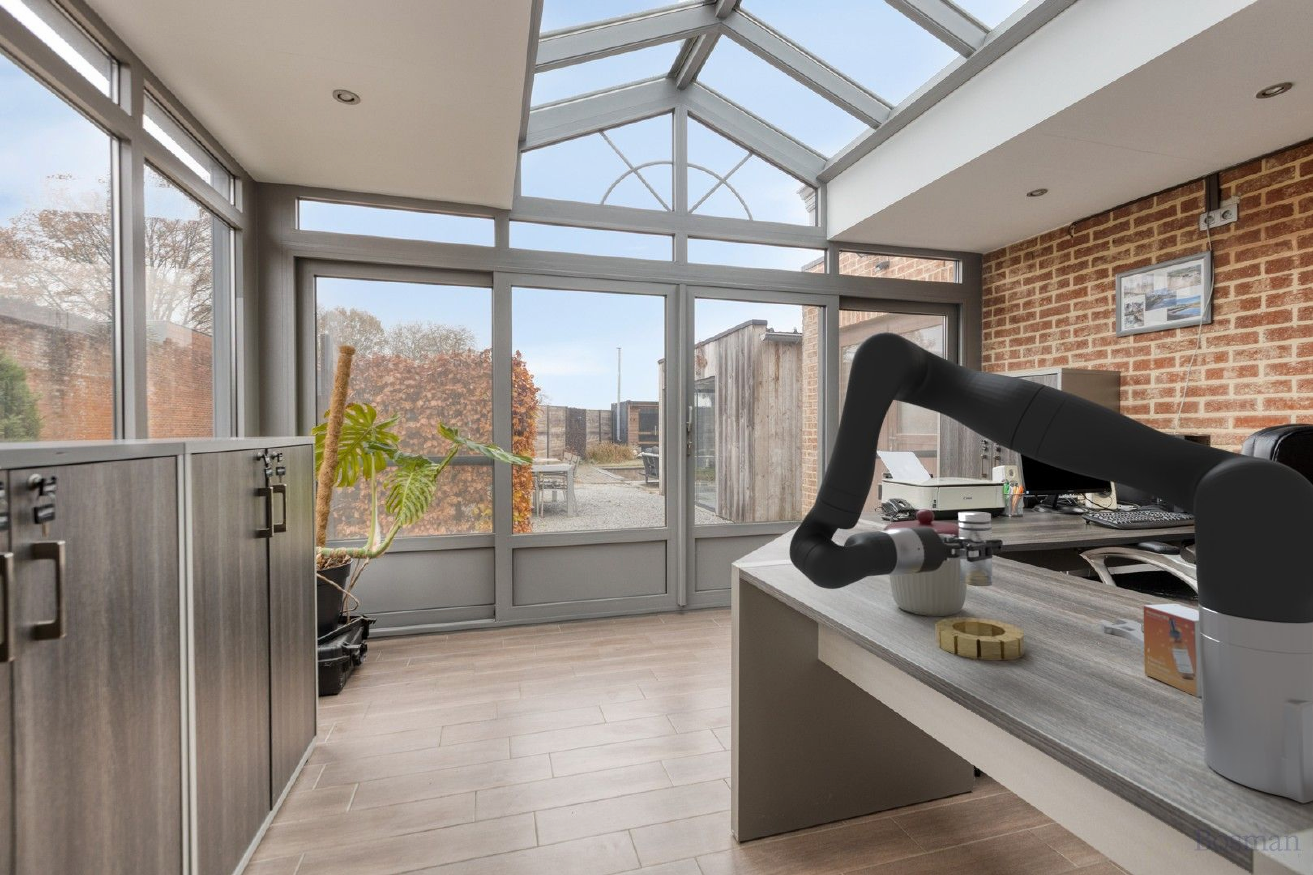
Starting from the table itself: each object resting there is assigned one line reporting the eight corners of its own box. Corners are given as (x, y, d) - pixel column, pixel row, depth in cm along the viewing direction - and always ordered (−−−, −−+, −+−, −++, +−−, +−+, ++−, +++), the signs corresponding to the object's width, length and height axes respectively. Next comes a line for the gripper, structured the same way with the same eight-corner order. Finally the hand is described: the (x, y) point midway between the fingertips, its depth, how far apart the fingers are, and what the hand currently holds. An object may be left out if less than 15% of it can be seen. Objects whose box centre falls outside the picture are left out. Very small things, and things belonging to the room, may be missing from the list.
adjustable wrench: (1210, 681, 87) (1209, 669, 87) (1156, 677, 89) (1156, 665, 89) (1134, 627, 111) (1133, 618, 111) (1093, 625, 113) (1092, 616, 113)
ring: (1043, 653, 99) (1042, 635, 99) (979, 664, 95) (978, 645, 95) (978, 630, 112) (977, 614, 112) (920, 639, 108) (919, 622, 108)
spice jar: (1000, 584, 102) (998, 514, 102) (976, 587, 100) (974, 515, 100) (976, 578, 106) (974, 511, 107) (952, 580, 105) (951, 512, 105)
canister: (874, 597, 136) (871, 505, 136) (959, 598, 133) (955, 504, 133) (893, 622, 118) (889, 515, 118) (991, 623, 115) (987, 514, 116)
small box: (1143, 675, 89) (1141, 604, 89) (1178, 672, 90) (1175, 602, 90) (1196, 697, 81) (1194, 620, 81) (1234, 695, 82) (1231, 617, 82)
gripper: (937, 533, 92) (1022, 526, 97) (877, 522, 106) (955, 517, 111) (939, 582, 92) (1024, 572, 97) (878, 565, 106) (956, 557, 111)
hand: (986, 543), depth 104 cm, fingers closed on spice jar, 5 cm apart
